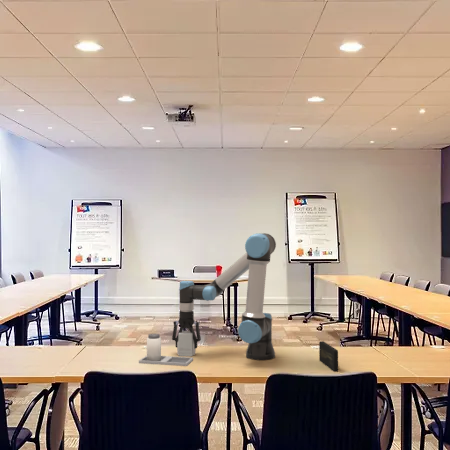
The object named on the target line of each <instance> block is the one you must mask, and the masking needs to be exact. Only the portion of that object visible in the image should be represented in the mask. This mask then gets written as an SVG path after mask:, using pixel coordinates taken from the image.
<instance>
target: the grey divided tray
mask: <svg viewBox="0 0 450 450" xmlns="http://www.w3.org/2000/svg"><path fill="white" fill-rule="evenodd" d="M193 361H194V357H190V356H170V355H161V361H147V355H145V356H144V357H142V358H140V359H139V360H138V364H144V365H145V364H147V365H159V366H161V365H164V366H176V367H178V366H180V367H188V366H189V365H190V364H191V363H192V362H193Z"/></svg>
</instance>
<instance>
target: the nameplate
mask: <svg viewBox="0 0 450 450" xmlns="http://www.w3.org/2000/svg"><path fill="white" fill-rule="evenodd" d="M318 343H319V347H318V348H319V351H318V353H319V357H318V358H319V359H318V360H319V362H320V363H322V364H323V365H325V366H326V367H327V368H329V370H331V371H333V372H338V371H339V351H338V349H336V348H335V347H334V346H332V345H330V344H328V343H327V342H325V340H324V341H323V340H321V341H319V342H318Z"/></svg>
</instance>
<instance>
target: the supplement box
mask: <svg viewBox="0 0 450 450" xmlns="http://www.w3.org/2000/svg"><path fill="white" fill-rule="evenodd" d="M177 335H178V352H179V354H178V357H193V356H194V355H193V342H194V340H193V333H191V332H190V330H183V331H182V332H181V333H179V334H178V333H177Z"/></svg>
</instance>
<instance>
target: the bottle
mask: <svg viewBox="0 0 450 450" xmlns="http://www.w3.org/2000/svg"><path fill="white" fill-rule="evenodd" d="M146 356H147V361H161V356H162V337H161V336H160V333H149V334H148V335H147V337H146Z"/></svg>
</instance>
